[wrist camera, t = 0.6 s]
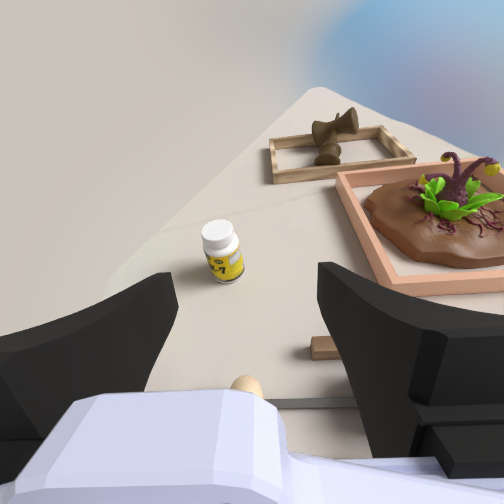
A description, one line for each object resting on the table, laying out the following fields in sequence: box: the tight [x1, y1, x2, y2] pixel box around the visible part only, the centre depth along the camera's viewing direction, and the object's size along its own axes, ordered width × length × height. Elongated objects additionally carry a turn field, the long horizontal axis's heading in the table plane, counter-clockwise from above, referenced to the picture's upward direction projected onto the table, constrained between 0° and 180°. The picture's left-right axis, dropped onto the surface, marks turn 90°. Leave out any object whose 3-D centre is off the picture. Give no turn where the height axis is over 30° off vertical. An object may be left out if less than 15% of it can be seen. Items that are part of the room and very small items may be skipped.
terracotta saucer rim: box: [335, 157, 504, 297], centre depth 36 cm, size 26×26×3 cm
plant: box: [364, 152, 504, 269], centre depth 33 cm, size 20×20×11 cm
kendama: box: [312, 107, 359, 167], centre depth 53 cm, size 6×10×20 cm
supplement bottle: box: [201, 219, 244, 284], centre depth 32 cm, size 5×5×8 cm
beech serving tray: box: [269, 125, 417, 184], centre depth 54 cm, size 18×28×2 cm, turn 90°
